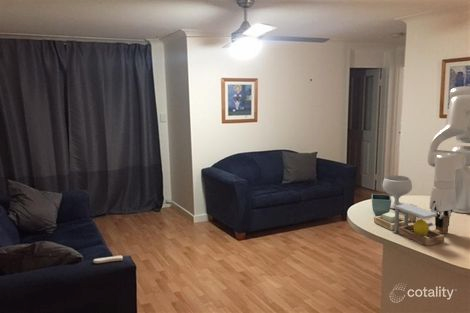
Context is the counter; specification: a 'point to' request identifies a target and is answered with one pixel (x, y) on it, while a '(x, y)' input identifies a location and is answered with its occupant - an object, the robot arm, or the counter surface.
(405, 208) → the grey bench
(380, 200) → the flower pot
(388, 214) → the sage cube
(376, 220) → the sled
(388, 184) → the chalice
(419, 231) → the lemon
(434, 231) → the wooden handled tray
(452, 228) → the counter surface
